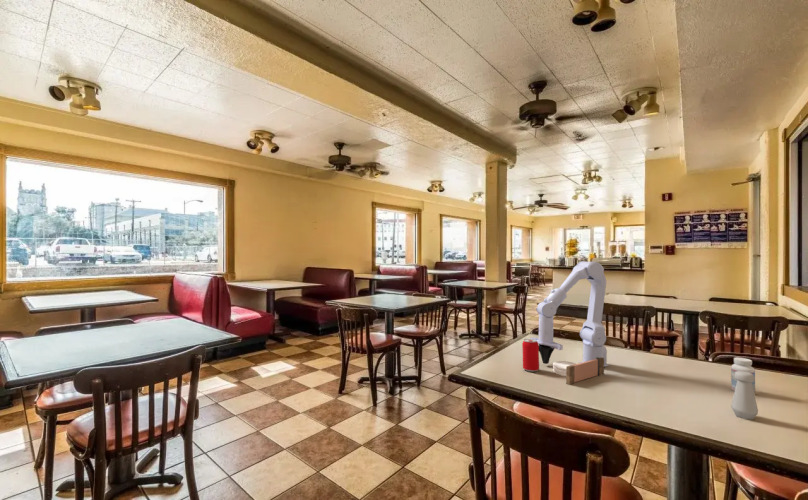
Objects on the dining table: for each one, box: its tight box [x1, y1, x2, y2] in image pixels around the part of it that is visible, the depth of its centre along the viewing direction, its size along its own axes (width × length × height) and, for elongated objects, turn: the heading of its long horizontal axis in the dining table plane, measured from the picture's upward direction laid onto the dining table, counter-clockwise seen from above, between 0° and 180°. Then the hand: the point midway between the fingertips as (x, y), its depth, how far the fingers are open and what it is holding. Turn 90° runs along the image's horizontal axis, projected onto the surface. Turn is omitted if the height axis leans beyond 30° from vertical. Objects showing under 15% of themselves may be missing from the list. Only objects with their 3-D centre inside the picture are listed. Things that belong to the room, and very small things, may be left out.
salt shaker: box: [730, 371, 759, 421], centre depth 105 cm, size 6×6×13 cm
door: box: [573, 359, 598, 383], centre depth 135 cm, size 15×2×6 cm, turn 121°
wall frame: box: [565, 357, 605, 386], centre depth 135 cm, size 22×1×7 cm, turn 121°
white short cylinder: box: [552, 360, 577, 377], centre depth 142 cm, size 10×10×4 cm
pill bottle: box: [730, 357, 756, 394], centre depth 124 cm, size 6×6×11 cm
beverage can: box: [521, 338, 540, 373], centre depth 144 cm, size 6×6×12 cm
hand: (545, 363), depth 150 cm, fingers closed
